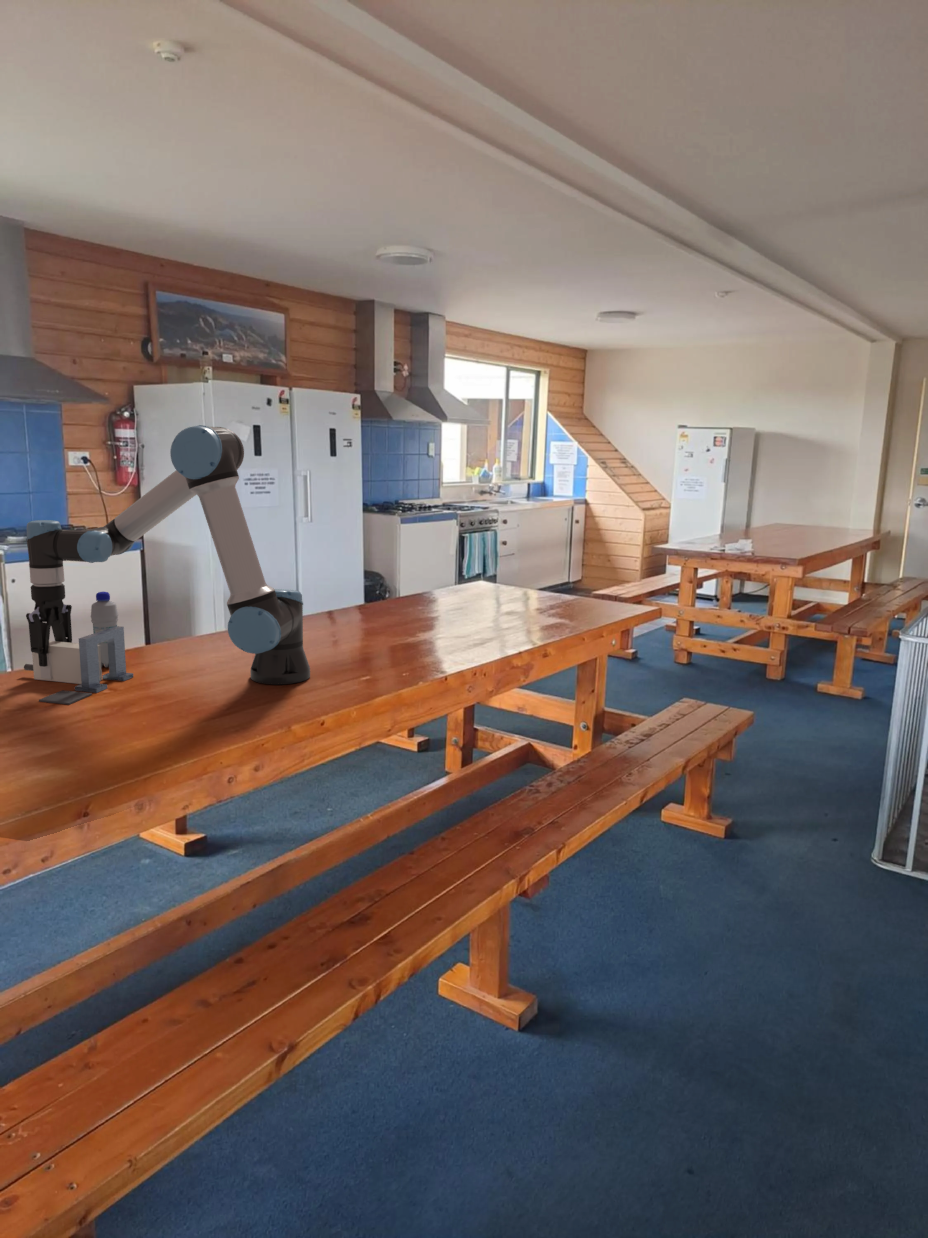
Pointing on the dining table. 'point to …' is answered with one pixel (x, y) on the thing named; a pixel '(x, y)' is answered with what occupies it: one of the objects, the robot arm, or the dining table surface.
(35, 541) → the robot arm
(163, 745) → the dining table surface
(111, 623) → the bottle
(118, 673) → the blue-grey arch stand
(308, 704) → the dining table surface
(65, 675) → the white block
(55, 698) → the mat
